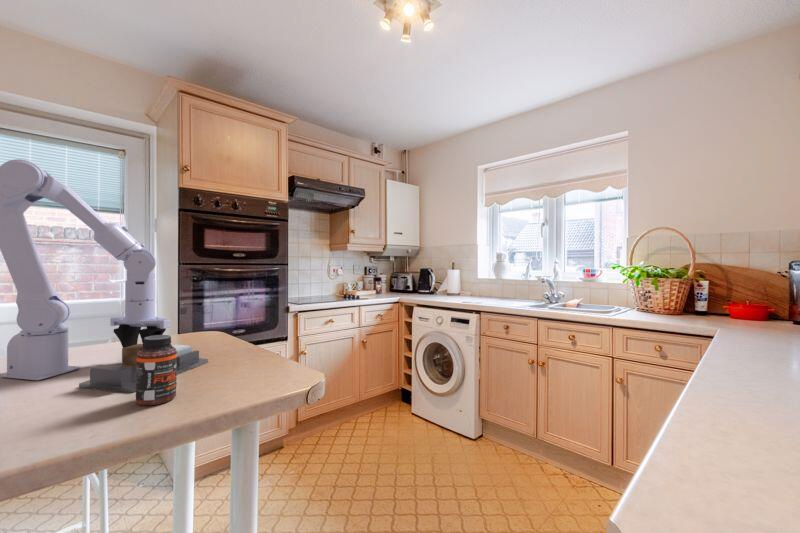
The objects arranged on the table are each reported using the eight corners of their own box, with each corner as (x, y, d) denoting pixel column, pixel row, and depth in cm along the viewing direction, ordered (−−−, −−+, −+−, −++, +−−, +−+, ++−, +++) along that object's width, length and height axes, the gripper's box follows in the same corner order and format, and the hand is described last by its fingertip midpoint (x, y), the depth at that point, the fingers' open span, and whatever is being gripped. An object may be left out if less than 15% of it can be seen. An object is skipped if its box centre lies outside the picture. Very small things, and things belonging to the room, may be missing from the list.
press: (78, 387, 67) (79, 366, 67) (164, 358, 87) (164, 343, 87) (132, 392, 65) (133, 371, 65) (208, 362, 85) (208, 345, 85)
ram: (157, 362, 80) (157, 349, 80) (174, 357, 85) (174, 343, 85) (175, 364, 80) (175, 350, 79) (191, 358, 84) (192, 345, 84)
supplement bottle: (155, 408, 59) (156, 341, 58) (126, 405, 60) (127, 339, 60) (184, 395, 64) (185, 334, 64) (157, 392, 66) (157, 332, 65)
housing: (122, 365, 81) (122, 348, 81) (142, 358, 87) (143, 342, 87) (138, 366, 81) (138, 349, 80) (158, 359, 86) (158, 343, 86)
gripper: (180, 299, 86) (180, 354, 86) (129, 297, 88) (129, 350, 88) (156, 302, 79) (155, 362, 79) (101, 300, 81) (101, 358, 81)
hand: (140, 356), depth 83 cm, fingers closed on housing, 4 cm apart
